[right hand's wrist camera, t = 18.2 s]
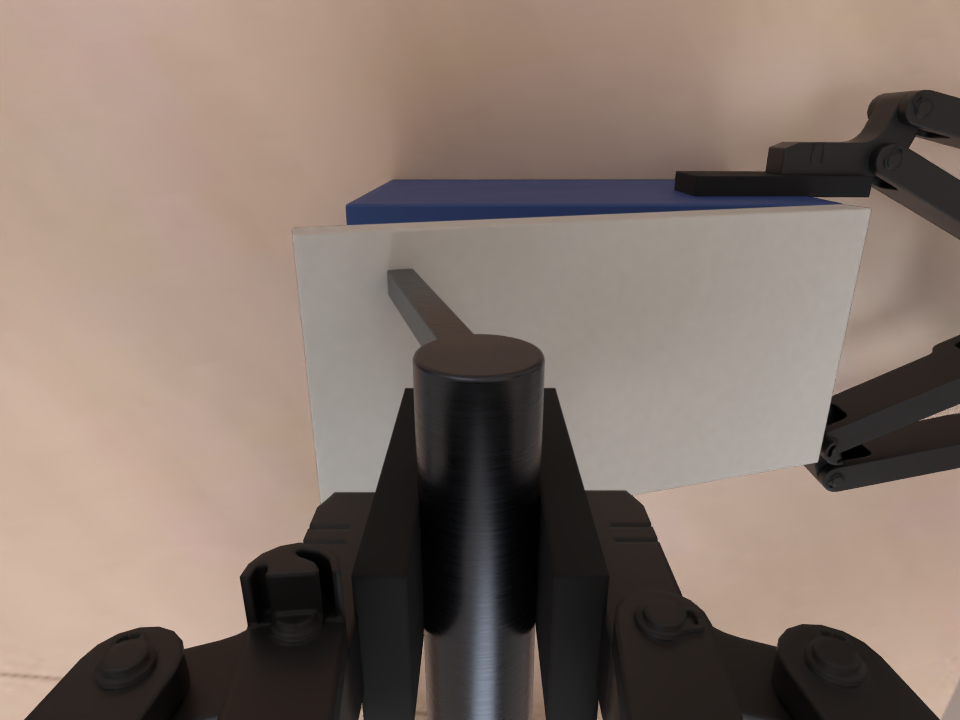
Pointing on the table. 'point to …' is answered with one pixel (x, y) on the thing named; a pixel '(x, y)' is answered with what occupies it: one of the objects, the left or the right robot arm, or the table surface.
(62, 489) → the table surface
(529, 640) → the lid
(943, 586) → the table surface
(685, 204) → the blue cabinet box
